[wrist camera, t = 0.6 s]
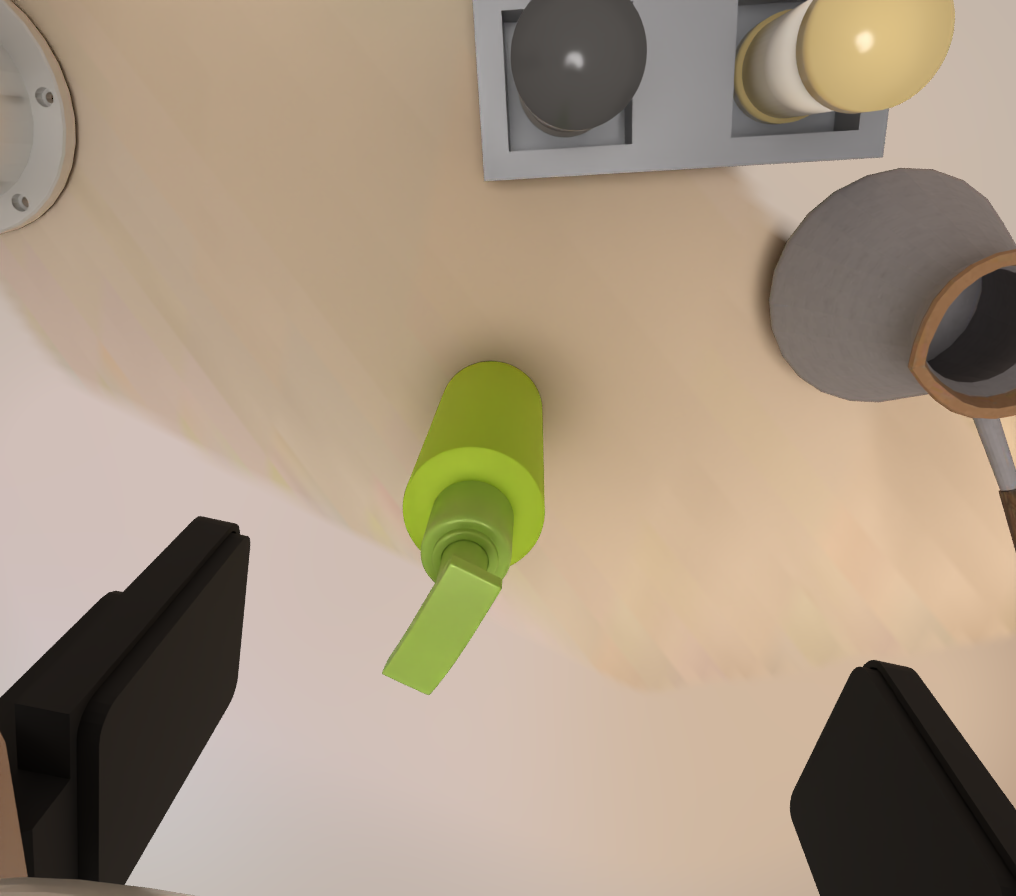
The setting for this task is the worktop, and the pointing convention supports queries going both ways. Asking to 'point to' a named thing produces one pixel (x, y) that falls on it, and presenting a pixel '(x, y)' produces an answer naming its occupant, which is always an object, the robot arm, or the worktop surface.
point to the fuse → (840, 57)
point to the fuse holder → (659, 103)
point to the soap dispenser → (470, 511)
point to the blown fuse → (577, 62)
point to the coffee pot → (906, 302)
